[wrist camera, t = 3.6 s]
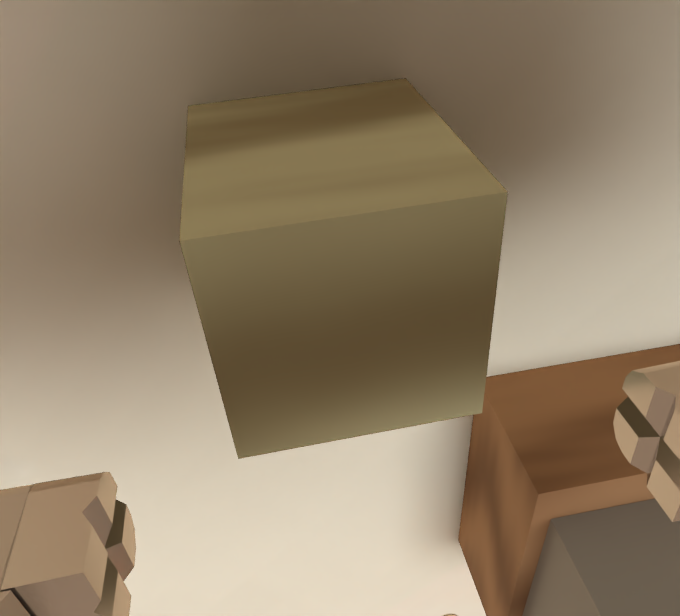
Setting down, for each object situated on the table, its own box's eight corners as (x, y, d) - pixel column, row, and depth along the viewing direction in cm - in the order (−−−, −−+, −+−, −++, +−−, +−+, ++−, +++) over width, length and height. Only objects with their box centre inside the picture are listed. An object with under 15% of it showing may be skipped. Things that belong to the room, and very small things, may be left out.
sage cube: (188, 105, 13) (179, 241, 9) (404, 77, 14) (507, 192, 9) (228, 286, 16) (238, 459, 12) (404, 258, 17) (482, 413, 12)
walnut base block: (474, 373, 21) (538, 494, 17) (737, 328, 22) (855, 431, 18) (456, 534, 27) (499, 650, 23) (662, 492, 28) (737, 596, 24)
